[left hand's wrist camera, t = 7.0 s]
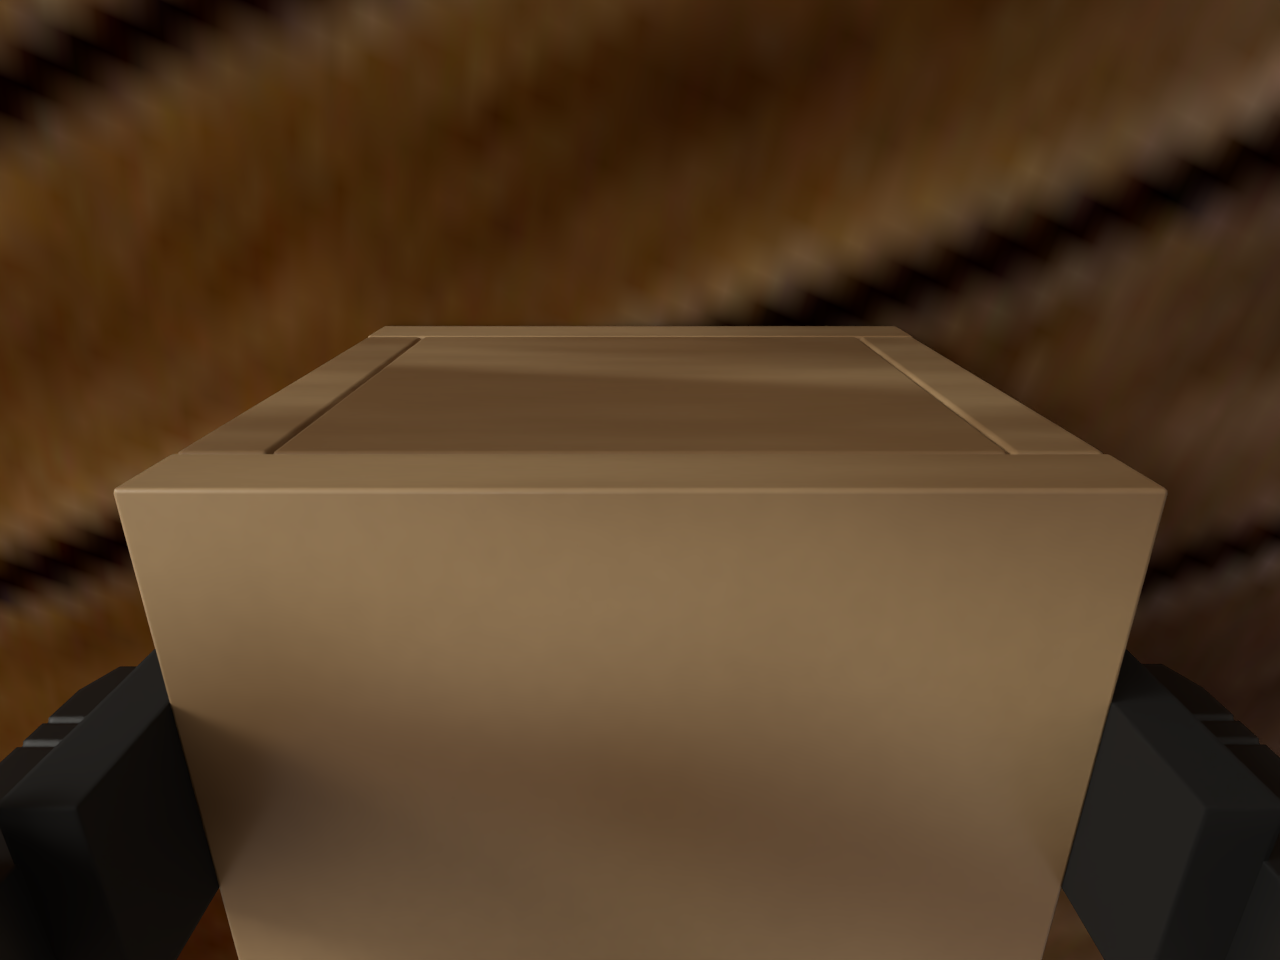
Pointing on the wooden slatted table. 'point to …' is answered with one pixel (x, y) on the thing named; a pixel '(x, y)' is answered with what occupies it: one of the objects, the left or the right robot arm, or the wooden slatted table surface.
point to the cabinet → (640, 647)
